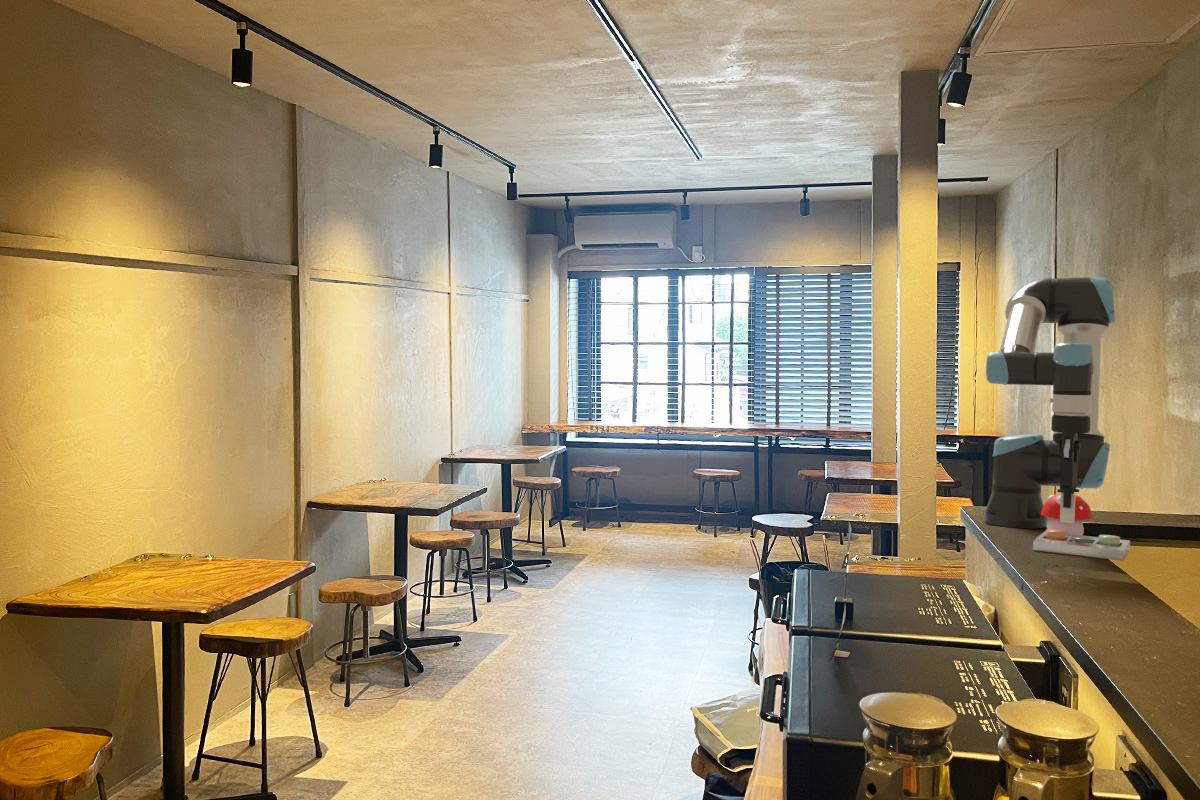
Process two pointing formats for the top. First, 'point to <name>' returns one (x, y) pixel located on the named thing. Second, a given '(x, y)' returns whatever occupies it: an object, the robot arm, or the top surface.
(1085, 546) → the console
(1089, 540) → the button charcoal
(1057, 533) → the button terracotta
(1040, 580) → the top surface
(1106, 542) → the button sage
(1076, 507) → the mushroom
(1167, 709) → the top surface
